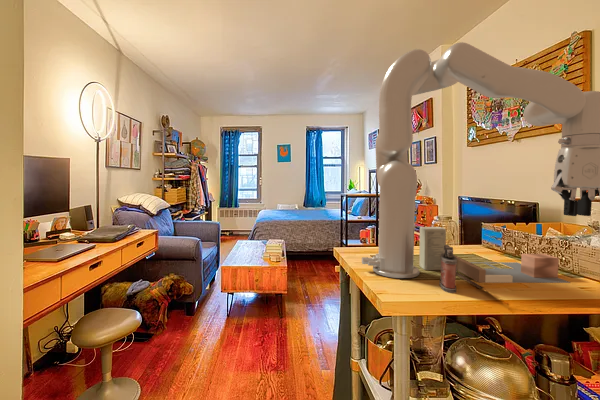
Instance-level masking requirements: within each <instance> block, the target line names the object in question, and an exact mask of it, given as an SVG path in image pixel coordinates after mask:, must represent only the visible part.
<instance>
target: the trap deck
mask: <svg viewBox="0 0 600 400" xmlns="http://www.w3.org/2000/svg"><path fill="white" fill-rule="evenodd" d="M453 255H454V256H455V257H456V258H457V264H456V267H457V271H458V272H457V273H456V276H457V277H459V278H461V279H462V280H463V281H466V282H467V283H469V284H471V285H472V286H474V287H476V288H477V289H484V286H482V285H480V284H479V283H486V284H487V283H496V284H498V283H508V284H510V283H513V284H514V283H518V284H519V283H523V284H524V283H529V284H530V283H533V284H535V283H539V284H540V283H542V284H543V283H545V284H547V283H548V284H551V283H552V284H553V283H554V284H559V283H560V284H561V283H562V284H567V283H568V284H571V281H569V280H565V279H563V278H559V277H558V278H534V277H531V276H529V275H527V274H524V273H522V272H521V262H516V261H515V262H513V261H511V262H509V261H507V262H505V261H504V262H502V261H501V262H500V261H499V262H498V261H497V262H491V261H490V262H487V261H486V262H485V261H483V262H482V261H481V262H480V261H479V262H476V261H474V262H473V261H472V262H470V261H468V260H466V259H463V258H461V257H460V256H457V255H455V254H453ZM476 264H484V265H487V266H489V267H491V268H482V267H480V266H478V265H476ZM493 264H501V265H504V266H507V267H509V268H499V267H497V266H495V265H493ZM459 272H460V273H459ZM464 275H465V276H464ZM466 276H467V277H466ZM469 278H470V279H469ZM473 280H474V281H473ZM475 281H476V282H475Z"/></svg>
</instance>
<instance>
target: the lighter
mask: <svg viewBox="0 0 600 400" xmlns="http://www.w3.org/2000/svg"><path fill="white" fill-rule="evenodd" d="M454 255H455V254H454V247H452V246H450V245H449V244H446V245H444V253H441V254H440V259H441V270H440V279H439V287H440V289H442V290H443V292H446V293H450V294H454V293H457V285H456V280H457V279H456V278H457V277H456V276H457V275H456V273H457V271H458V270H457V267H456V264H457V258H456V257H455V256H456V255H455V256H454Z"/></svg>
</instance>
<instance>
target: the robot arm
mask: <svg viewBox="0 0 600 400" xmlns="http://www.w3.org/2000/svg"><path fill="white" fill-rule="evenodd" d="M458 83H459V84H462V85H464V86H465V87H467V88H469V89H471V90H473V91H474V92H477V93H478V94H480V95H481V96H484V97H486V98H489V99H493V98H494V99H504V98H513V99H519V100H525V101H528V102H529V103H528V104H527V105H526V106H525V107H524V109H523V118H524V121H525V122H526V123H527V124H529V125H532V126H534V127H545V126H551V125H560V124H561V125H562V126H561V138H559V139H558V142H557V143H558V144H559V145H560V149H558V153H557V154H556V159H555V164H554V165H555V166H554V170H553V171H554V173H553V183H552V186H551V187H550V188H551V191H553V192H555V193H557V194H558V195H559V196H560V198H561V200H563V201H564V202H563V215H564V216H569V217H570V216H571V217H577V216H583V217H591V215H592V206H593V205H592V202H593V201H595V198H596V196H598V195H599V194H600V91H597V90H590V91H588V90H587V91H582V89H581V88H580V87H578V86H577V85H576V84H574V83H572V82H570V81H568V80H567V79H565V78H563V77H561V76H558V75H557V74H555V73H552V72H548V71H544V70H540V69H533V68H526V67H521V66H513V65H510V64H508V63H506V62H504V61H502V60H501V59H498V58H496V57H494V56H492V55H490V54H489V53H486V52H485V51H483V50H481V49H480V48H477V47H475V46H474V45H471V44H469V43H467V42H463V41H461V42H456V43H454V44H452V45H450V46H449V47H448V48H447V49H446V50H445V51H444V52H443V53H442V55H441V56H440V58H438V59H436V60H433V61H432V59H431V57H430V54H429V53H428V52H427V51H425V50H423V49H420V48H419V49H417V48H415V49H412V50H409V51H407V52H405V53H404V54H402V55H400V56H399V57H398V58H397V59H395V61H393V63H392V64H391V65H390V66H389V68H388V70H387V71H386V73H385V75H384V77H383V79H382V83H381V86H380V90H379V98H378V109H379V110H378V119H379V120H378V121H379V123H378V125H379V126H378V127H379V129H378V134H377V136H376V139H375V164H376V165H375V166H376V168H375V169H376V181H377V184H378V186H379V202H378V205H379V206H378V207H379V208H378V253H375V256H374V255H373V256H372V257H367V256H366V257H364V256H363V257H361V265H367V266H371V267H372V271H373V272H374V273H375V274H377V275H378V276H379V275H380V276H383V277H388V278H393V279H411V278H416V277H418V276H419V275H420V269H419V268H418V267H416V266H415V265H414V261H415V260H414V258H415V257H414V255H415V253H414V252H415V248H414V247H415V212H416V211H415V209H416V197H417V189H418V175H417V172H416V169H415V168H414V166H413V165H412V164H411V163H409V159H408V151H409V149H411V147H412V144H413V142H414V141H413V139H414V137H413V126H412V125H413V124H412V122H413V121H412V99H413V96H416V95H421V94H425V93H430V92H434V91H438V90H439V91H440V90H442V89H446V88H449V87H451V86H454V85H456V84H458ZM578 188H579V193H580V194H579V198H580V199H576V198H577V191H578V190H577V189H578Z"/></svg>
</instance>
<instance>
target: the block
mask: <svg viewBox="0 0 600 400" xmlns="http://www.w3.org/2000/svg"><path fill="white" fill-rule="evenodd" d="M520 259H521V261H520V264H521V272H522V273H524V274H527V275H529V276H531V277H534V278H559V261H560V258H559V257H556V256H552V255H549V254H547V253H521V258H520Z"/></svg>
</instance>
